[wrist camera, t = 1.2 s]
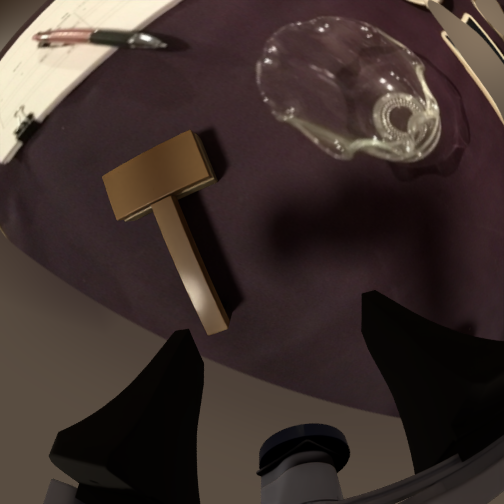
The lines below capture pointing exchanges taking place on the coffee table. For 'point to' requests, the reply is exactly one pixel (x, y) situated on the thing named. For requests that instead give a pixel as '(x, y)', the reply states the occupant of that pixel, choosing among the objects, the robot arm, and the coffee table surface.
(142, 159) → the brown t-shaped piece
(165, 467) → the robot arm
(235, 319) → the coffee table surface
